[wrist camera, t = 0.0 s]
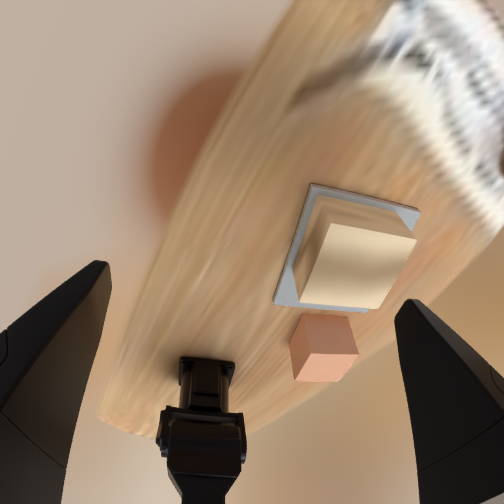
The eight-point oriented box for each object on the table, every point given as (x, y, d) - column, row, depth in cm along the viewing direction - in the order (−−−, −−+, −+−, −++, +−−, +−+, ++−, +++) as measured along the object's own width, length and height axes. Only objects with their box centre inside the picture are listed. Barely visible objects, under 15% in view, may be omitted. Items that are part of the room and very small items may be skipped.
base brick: (364, 277, 28) (377, 309, 24) (292, 268, 26) (299, 302, 23) (395, 211, 23) (417, 240, 20) (317, 194, 22) (330, 222, 19)
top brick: (329, 345, 35) (338, 381, 31) (288, 343, 34) (294, 381, 30) (347, 316, 32) (358, 354, 28) (302, 312, 31) (310, 353, 27)
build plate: (365, 308, 31) (366, 312, 30) (272, 300, 29) (273, 304, 29) (417, 209, 24) (421, 212, 24) (311, 183, 23) (312, 186, 22)
